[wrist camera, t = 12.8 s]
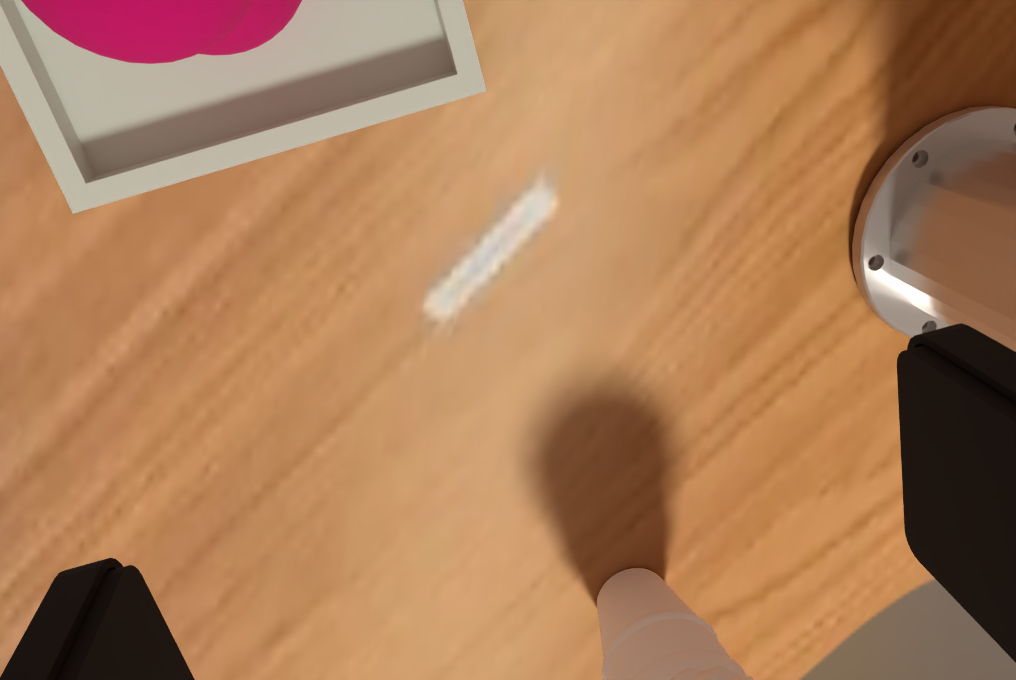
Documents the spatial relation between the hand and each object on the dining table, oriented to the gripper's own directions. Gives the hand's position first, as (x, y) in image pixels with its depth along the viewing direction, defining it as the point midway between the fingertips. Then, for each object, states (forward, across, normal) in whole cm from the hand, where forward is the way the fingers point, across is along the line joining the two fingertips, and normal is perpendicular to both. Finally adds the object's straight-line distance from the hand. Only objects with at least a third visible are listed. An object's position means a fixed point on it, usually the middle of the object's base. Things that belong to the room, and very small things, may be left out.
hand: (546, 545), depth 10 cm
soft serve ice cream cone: (+32, -5, +29) cm, 44 cm away
